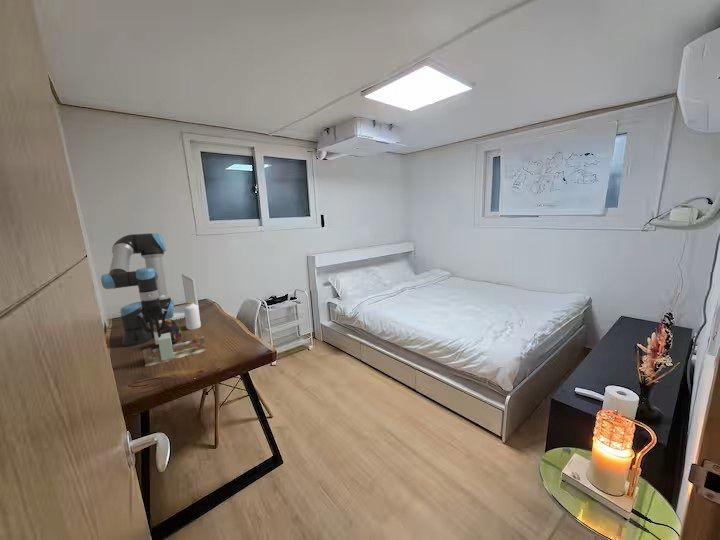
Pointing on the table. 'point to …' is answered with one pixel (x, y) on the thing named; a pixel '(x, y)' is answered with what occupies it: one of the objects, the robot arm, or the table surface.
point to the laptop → (186, 297)
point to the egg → (172, 330)
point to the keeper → (165, 346)
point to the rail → (179, 354)
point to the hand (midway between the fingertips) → (157, 343)
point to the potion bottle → (192, 316)
